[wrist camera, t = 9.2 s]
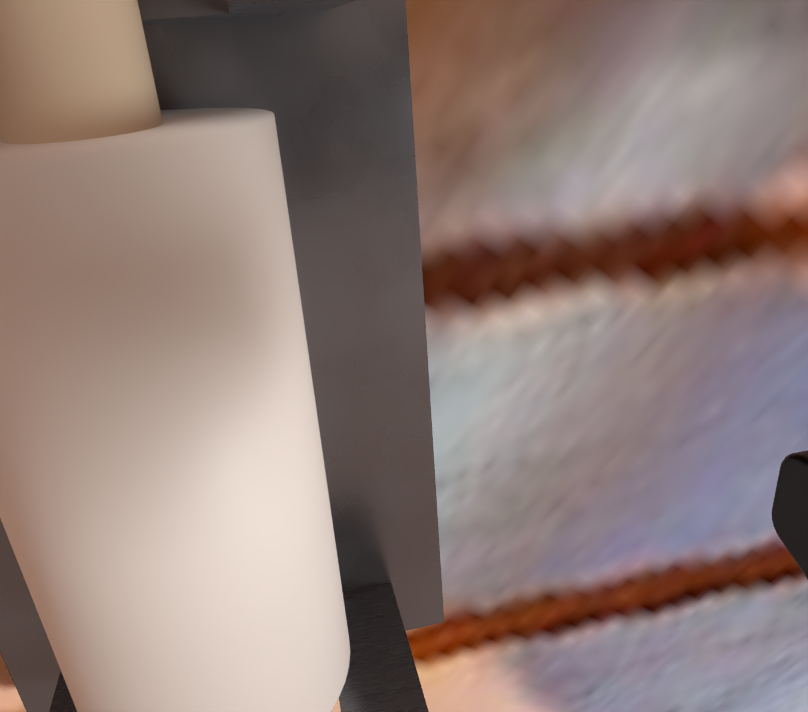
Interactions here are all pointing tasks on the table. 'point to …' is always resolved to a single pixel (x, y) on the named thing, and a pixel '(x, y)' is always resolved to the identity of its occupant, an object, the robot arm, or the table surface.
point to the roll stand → (321, 307)
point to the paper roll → (156, 384)
